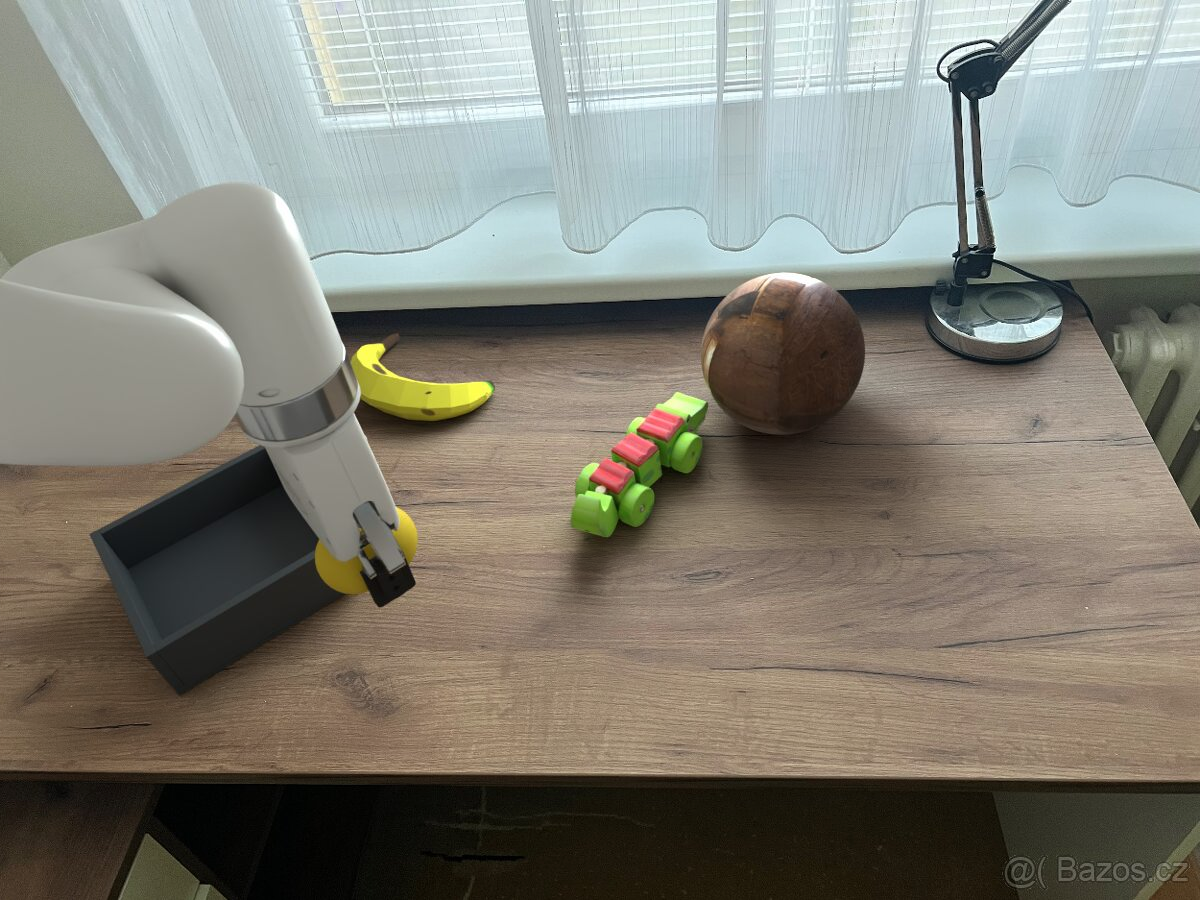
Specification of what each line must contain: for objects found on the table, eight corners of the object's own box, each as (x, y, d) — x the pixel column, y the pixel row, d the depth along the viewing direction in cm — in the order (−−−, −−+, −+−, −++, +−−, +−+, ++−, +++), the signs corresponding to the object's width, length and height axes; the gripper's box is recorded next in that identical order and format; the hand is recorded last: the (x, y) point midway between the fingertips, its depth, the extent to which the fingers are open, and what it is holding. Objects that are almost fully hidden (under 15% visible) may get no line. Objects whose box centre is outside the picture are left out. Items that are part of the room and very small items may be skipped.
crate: (179, 696, 71) (146, 657, 66) (120, 574, 80) (88, 533, 76) (372, 577, 77) (352, 535, 73) (295, 478, 87) (275, 436, 83)
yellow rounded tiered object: (349, 623, 63) (324, 576, 59) (317, 576, 66) (291, 529, 63) (439, 565, 66) (421, 517, 62) (403, 524, 69) (384, 476, 65)
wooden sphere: (858, 371, 90) (877, 245, 80) (852, 475, 80) (871, 346, 70) (714, 360, 94) (713, 237, 83) (690, 458, 84) (686, 333, 73)
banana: (479, 397, 87) (514, 326, 99) (314, 384, 89) (368, 316, 101) (483, 435, 89) (517, 361, 101) (323, 421, 92) (374, 351, 104)
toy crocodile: (671, 409, 89) (668, 362, 85) (727, 432, 86) (728, 385, 82) (549, 535, 79) (539, 490, 74) (608, 567, 75) (601, 521, 71)
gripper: (186, 353, 57) (285, 531, 70) (293, 496, 47) (386, 674, 59) (292, 304, 60) (368, 483, 73) (414, 428, 50) (478, 611, 62)
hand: (375, 567), depth 66 cm, fingers closed on yellow rounded tiered object, 5 cm apart
